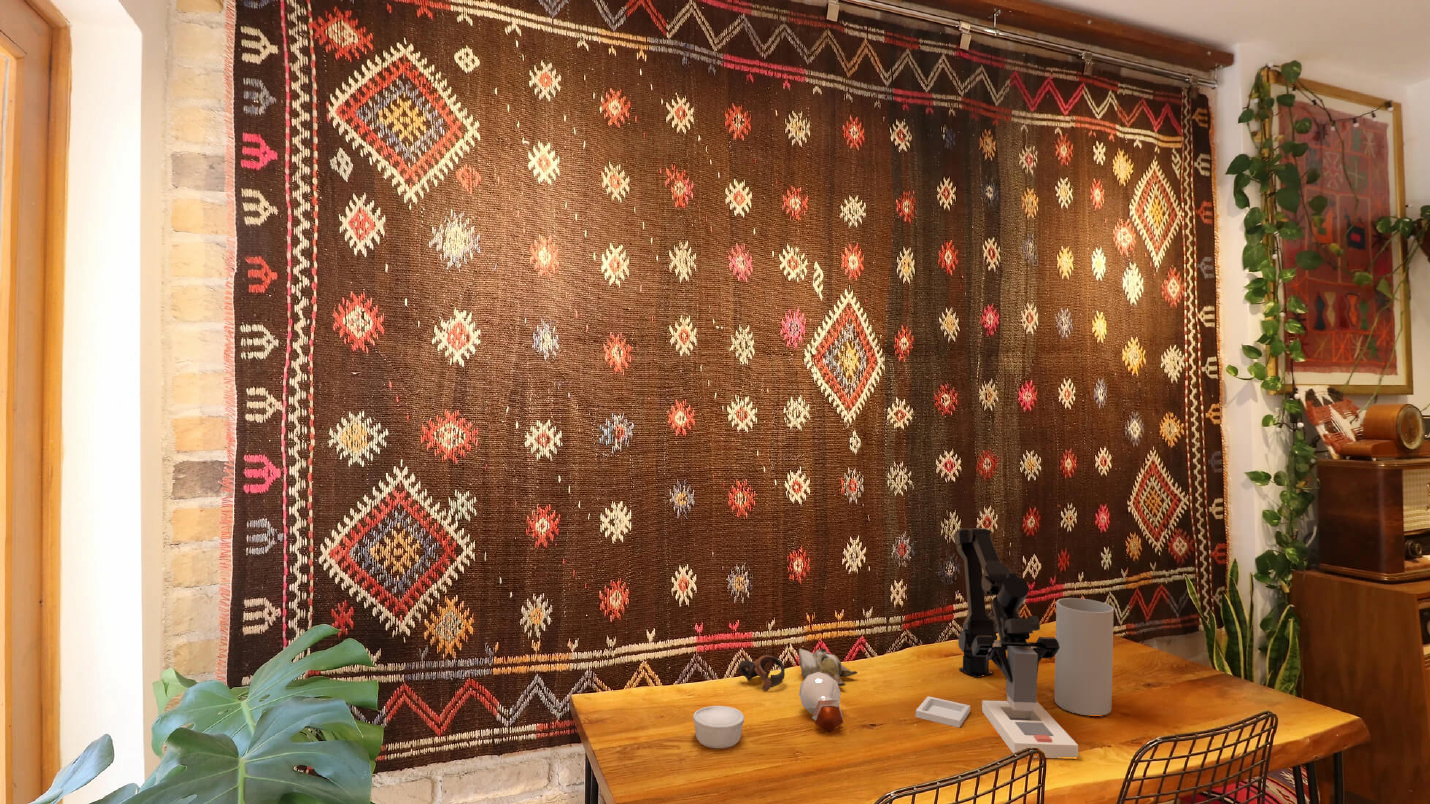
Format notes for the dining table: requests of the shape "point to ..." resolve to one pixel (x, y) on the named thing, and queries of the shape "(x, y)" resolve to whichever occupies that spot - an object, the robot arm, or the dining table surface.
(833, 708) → the potion bottle
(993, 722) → the power strip
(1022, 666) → the plug
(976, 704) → the dining table surface
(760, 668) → the brown curved piece
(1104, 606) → the cylinder vase
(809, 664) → the ceramic sculpture
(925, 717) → the tray
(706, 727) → the ramekin
